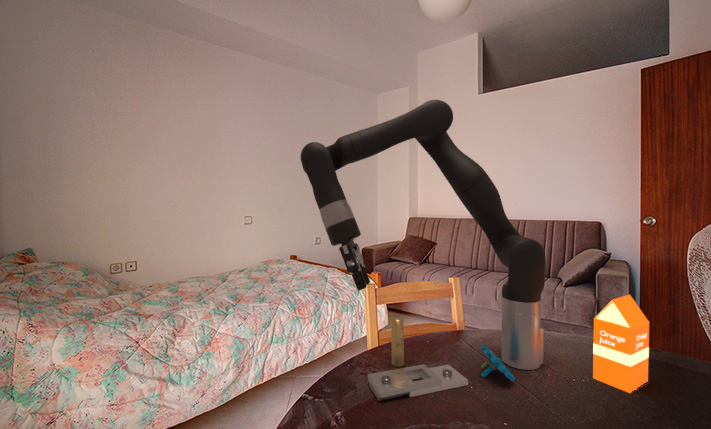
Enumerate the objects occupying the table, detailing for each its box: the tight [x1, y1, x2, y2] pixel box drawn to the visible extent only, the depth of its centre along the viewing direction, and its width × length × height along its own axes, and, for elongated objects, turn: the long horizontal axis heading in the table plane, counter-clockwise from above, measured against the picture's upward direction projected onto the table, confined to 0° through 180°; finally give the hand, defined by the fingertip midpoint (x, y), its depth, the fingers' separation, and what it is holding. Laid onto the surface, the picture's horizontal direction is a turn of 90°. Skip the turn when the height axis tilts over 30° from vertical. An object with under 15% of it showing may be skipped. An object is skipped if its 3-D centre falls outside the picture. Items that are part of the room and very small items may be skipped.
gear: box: [480, 344, 516, 383], centre depth 83 cm, size 11×6×10 cm
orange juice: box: [592, 294, 650, 394], centre depth 81 cm, size 8×9×20 cm
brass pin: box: [390, 316, 405, 368], centre depth 90 cm, size 3×3×12 cm
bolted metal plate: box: [367, 364, 469, 402], centre depth 80 cm, size 22×8×3 cm, turn 108°
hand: (364, 286), depth 80 cm, fingers open, 8 cm apart
